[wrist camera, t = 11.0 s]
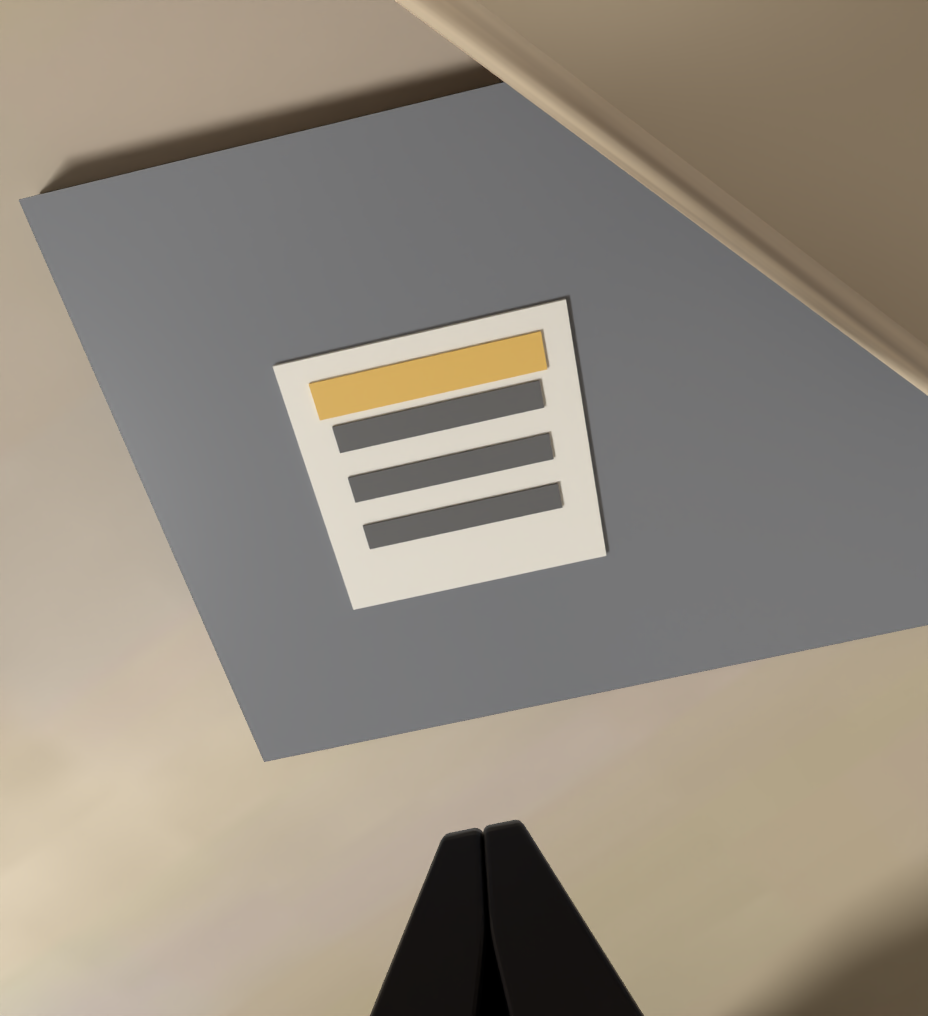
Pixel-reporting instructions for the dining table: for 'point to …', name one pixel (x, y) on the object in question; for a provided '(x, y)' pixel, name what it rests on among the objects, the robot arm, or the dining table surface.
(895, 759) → the dining table surface
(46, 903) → the dining table surface
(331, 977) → the dining table surface
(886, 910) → the dining table surface
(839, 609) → the label board
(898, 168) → the beige wooden block
